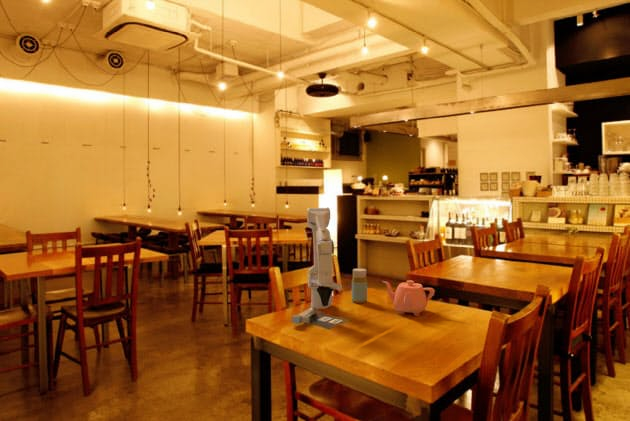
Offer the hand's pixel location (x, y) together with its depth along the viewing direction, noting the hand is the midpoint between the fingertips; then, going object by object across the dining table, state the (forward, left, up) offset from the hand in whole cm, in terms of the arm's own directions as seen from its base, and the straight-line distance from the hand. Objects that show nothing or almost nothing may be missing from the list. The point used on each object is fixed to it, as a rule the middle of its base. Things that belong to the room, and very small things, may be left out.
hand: (325, 305), depth 171 cm
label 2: (0, +5, -6) cm, 8 cm away
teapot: (-32, +20, -7) cm, 38 cm away
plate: (+1, 0, -6) cm, 6 cm away
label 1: (0, 0, -6) cm, 6 cm away
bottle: (-34, -5, -7) cm, 35 cm away
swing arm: (+6, -5, -5) cm, 9 cm away
